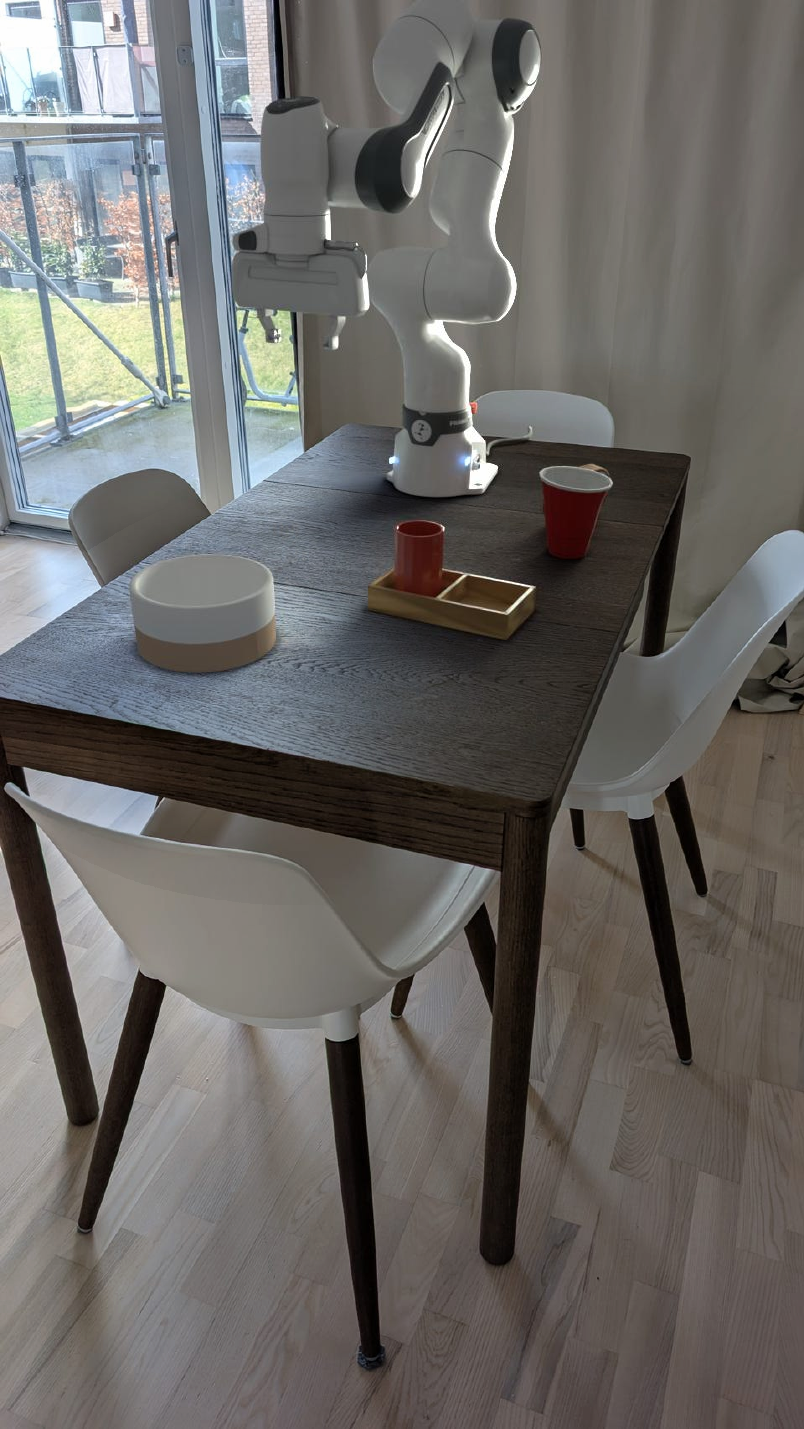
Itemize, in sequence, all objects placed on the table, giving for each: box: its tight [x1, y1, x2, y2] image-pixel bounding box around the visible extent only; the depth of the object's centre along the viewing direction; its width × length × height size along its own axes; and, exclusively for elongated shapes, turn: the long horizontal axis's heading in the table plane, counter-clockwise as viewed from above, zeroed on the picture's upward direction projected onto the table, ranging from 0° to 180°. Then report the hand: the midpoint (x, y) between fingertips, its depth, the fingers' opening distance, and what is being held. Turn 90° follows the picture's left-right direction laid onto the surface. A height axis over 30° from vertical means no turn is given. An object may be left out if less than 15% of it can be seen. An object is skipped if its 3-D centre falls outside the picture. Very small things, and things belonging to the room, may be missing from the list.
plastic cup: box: [538, 465, 614, 560], centre depth 154 cm, size 11×11×12 cm
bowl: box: [128, 553, 277, 674], centre depth 127 cm, size 17×17×8 cm
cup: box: [393, 519, 445, 598], centre depth 137 cm, size 6×6×10 cm
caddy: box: [367, 566, 537, 641], centre depth 137 cm, size 10×20×4 cm, turn 63°
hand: (301, 345), depth 145 cm, fingers open, 8 cm apart
